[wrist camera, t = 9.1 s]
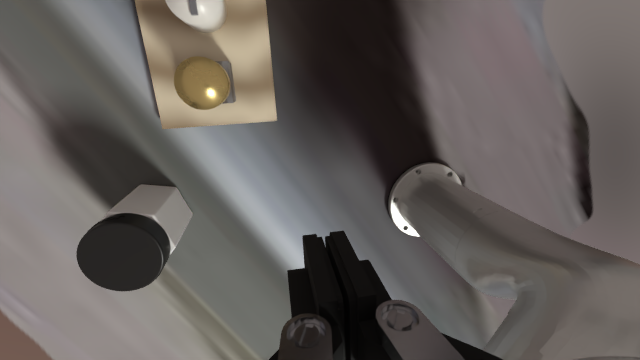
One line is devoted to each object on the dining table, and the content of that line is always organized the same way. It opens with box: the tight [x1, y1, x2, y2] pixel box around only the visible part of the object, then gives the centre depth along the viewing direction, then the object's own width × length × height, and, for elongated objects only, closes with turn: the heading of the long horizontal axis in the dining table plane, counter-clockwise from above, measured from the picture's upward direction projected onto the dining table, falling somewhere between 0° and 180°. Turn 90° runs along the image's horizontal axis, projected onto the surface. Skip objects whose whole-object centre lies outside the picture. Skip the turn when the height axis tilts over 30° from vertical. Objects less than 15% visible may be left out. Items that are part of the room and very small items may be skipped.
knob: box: [174, 56, 230, 110], centre depth 32 cm, size 5×5×8 cm
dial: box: [165, 0, 227, 33], centre depth 31 cm, size 5×5×6 cm
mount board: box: [135, 0, 277, 129], centre depth 33 cm, size 26×14×6 cm, turn 3°
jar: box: [77, 184, 193, 291], centre depth 36 cm, size 9×8×12 cm
